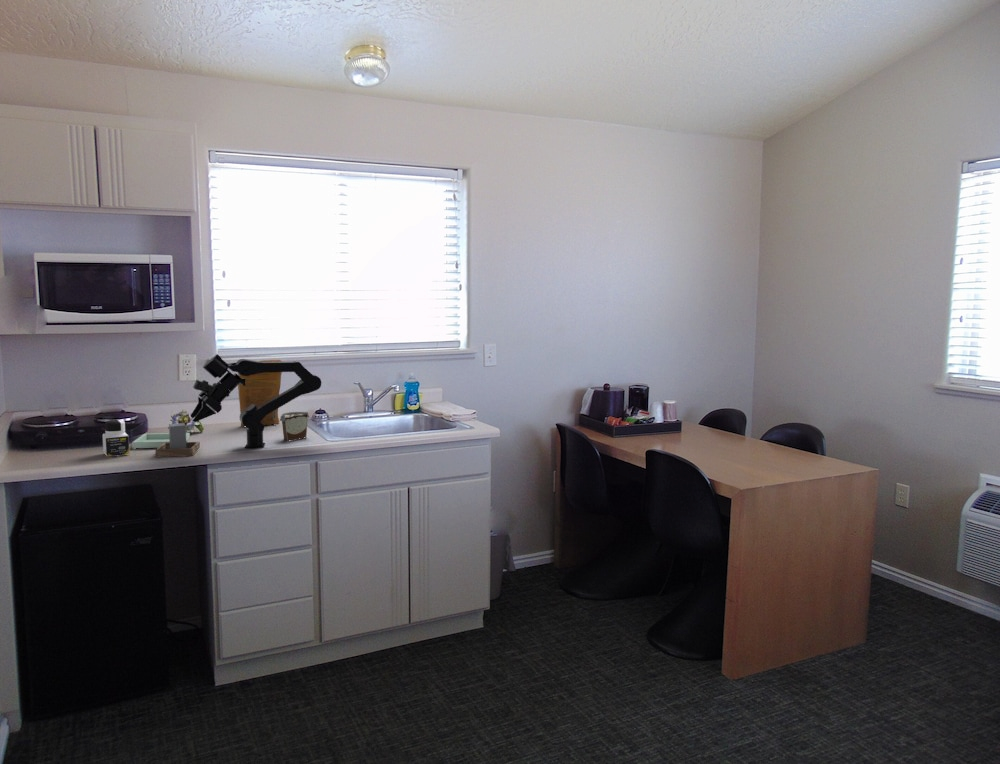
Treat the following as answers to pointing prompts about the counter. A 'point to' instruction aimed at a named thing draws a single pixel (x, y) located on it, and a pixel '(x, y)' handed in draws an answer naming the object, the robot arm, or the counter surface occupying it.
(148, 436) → the mint green tray
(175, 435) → the grey peg
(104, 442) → the medicine bottle
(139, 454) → the counter surface
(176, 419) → the passion flower
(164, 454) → the walnut collar
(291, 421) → the food container
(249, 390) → the pancake mix bag
